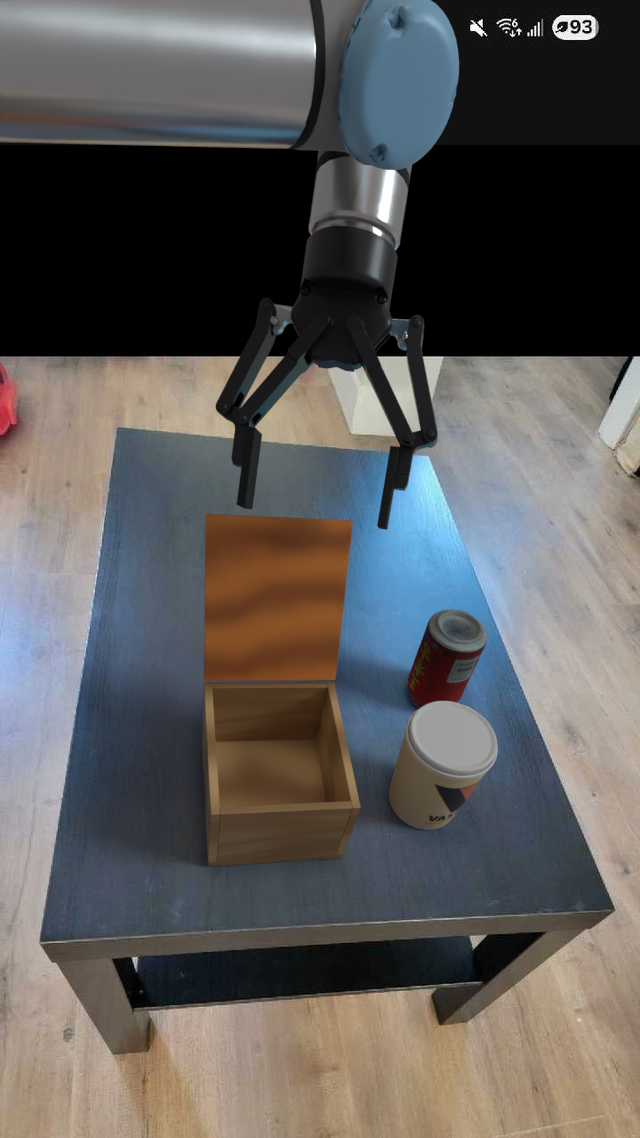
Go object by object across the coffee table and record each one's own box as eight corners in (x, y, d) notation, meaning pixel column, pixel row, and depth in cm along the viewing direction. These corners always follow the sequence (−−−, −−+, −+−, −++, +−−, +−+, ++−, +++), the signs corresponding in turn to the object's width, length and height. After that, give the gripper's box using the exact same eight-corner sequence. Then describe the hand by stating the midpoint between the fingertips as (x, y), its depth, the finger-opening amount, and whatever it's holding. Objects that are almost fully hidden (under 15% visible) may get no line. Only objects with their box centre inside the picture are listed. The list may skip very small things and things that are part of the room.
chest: (342, 858, 70) (361, 807, 63) (207, 867, 67) (210, 814, 60) (320, 737, 80) (334, 681, 72) (201, 740, 77) (204, 682, 70)
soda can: (469, 704, 87) (502, 635, 78) (428, 725, 84) (457, 655, 74) (433, 668, 90) (461, 597, 81) (392, 687, 87) (416, 615, 78)
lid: (353, 522, 64) (351, 519, 64) (205, 515, 61) (205, 513, 62) (335, 680, 72) (334, 676, 72) (204, 681, 69) (203, 677, 70)
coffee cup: (424, 853, 72) (458, 789, 63) (363, 792, 76) (388, 724, 67) (479, 808, 77) (519, 743, 68) (420, 753, 81) (450, 684, 72)
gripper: (495, 280, 58) (447, 540, 62) (224, 251, 61) (195, 503, 65) (507, 236, 51) (451, 534, 55) (197, 205, 53) (166, 492, 58)
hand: (312, 517), depth 60 cm, fingers open, 12 cm apart
